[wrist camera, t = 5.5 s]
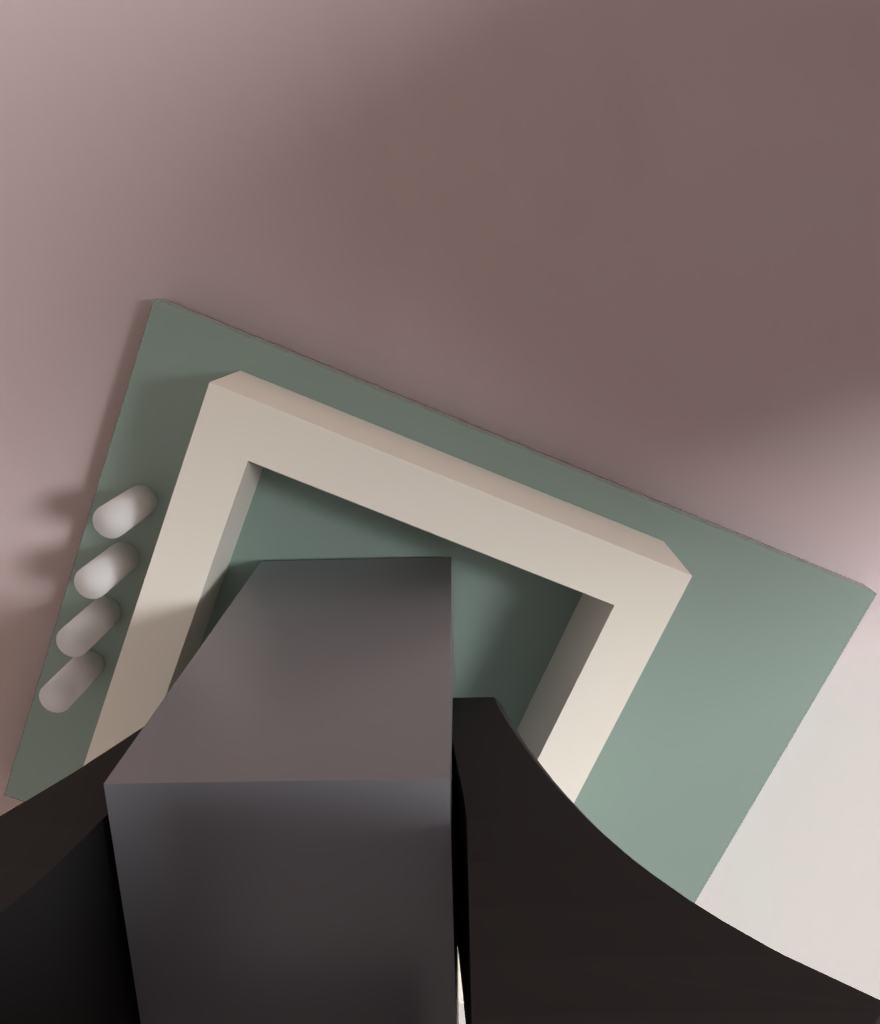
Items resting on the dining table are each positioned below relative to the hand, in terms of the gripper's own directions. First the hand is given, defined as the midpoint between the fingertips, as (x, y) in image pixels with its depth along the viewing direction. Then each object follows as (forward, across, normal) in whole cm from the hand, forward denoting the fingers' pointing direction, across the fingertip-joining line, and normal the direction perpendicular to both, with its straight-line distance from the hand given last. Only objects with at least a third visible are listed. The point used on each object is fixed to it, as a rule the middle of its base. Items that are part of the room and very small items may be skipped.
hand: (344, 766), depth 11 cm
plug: (+2, 0, 0) cm, 3 cm away
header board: (+3, -1, 0) cm, 3 cm away
